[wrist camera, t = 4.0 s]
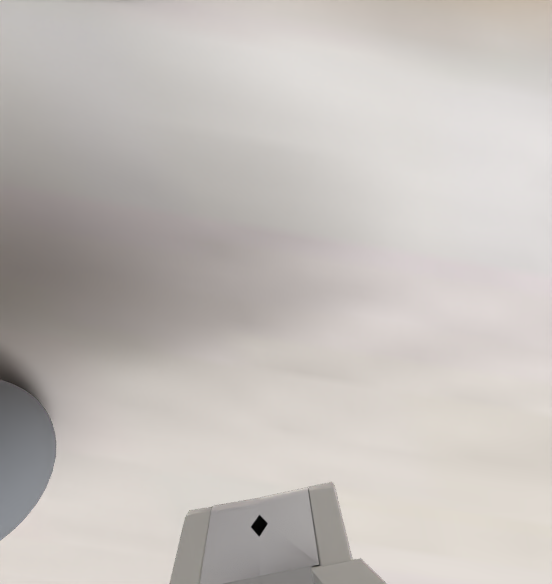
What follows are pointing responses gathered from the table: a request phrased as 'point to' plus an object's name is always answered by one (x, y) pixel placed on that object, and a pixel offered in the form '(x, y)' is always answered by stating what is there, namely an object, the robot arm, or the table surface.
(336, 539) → the robot arm
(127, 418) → the table surface
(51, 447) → the charcoal ball
